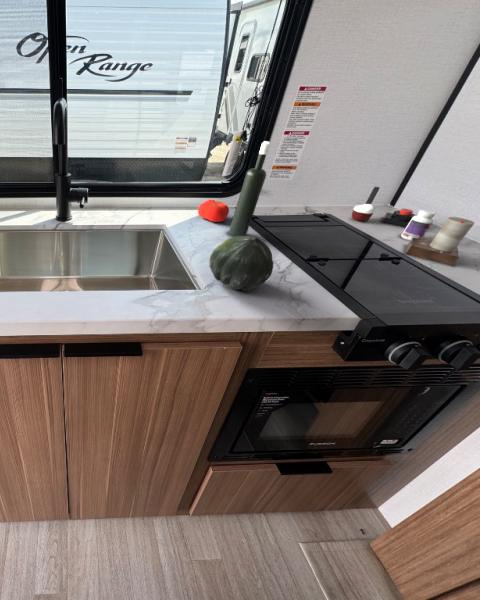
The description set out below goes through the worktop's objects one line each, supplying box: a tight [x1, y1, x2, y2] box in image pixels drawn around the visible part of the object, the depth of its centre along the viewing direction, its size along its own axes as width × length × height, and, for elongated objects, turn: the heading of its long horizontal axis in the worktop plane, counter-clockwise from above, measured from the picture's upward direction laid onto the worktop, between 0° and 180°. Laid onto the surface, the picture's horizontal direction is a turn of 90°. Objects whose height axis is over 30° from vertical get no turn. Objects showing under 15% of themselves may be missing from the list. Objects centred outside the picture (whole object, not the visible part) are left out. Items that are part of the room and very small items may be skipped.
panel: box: [405, 237, 464, 267], centre depth 102 cm, size 12×10×3 cm
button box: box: [381, 210, 417, 229], centre depth 124 cm, size 10×8×4 cm
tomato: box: [197, 199, 230, 223], centre depth 124 cm, size 10×11×6 cm
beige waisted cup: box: [430, 216, 475, 252], centre depth 98 cm, size 6×6×9 cm
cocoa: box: [351, 186, 380, 223], centre depth 124 cm, size 10×6×12 cm, turn 112°
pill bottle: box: [401, 209, 437, 241], centre depth 111 cm, size 5×5×10 cm
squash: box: [208, 235, 274, 292], centre depth 84 cm, size 14×15×15 cm
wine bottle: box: [227, 140, 271, 237], centre depth 105 cm, size 6×6×30 cm
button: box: [399, 208, 414, 216], centre depth 123 cm, size 4×4×2 cm
